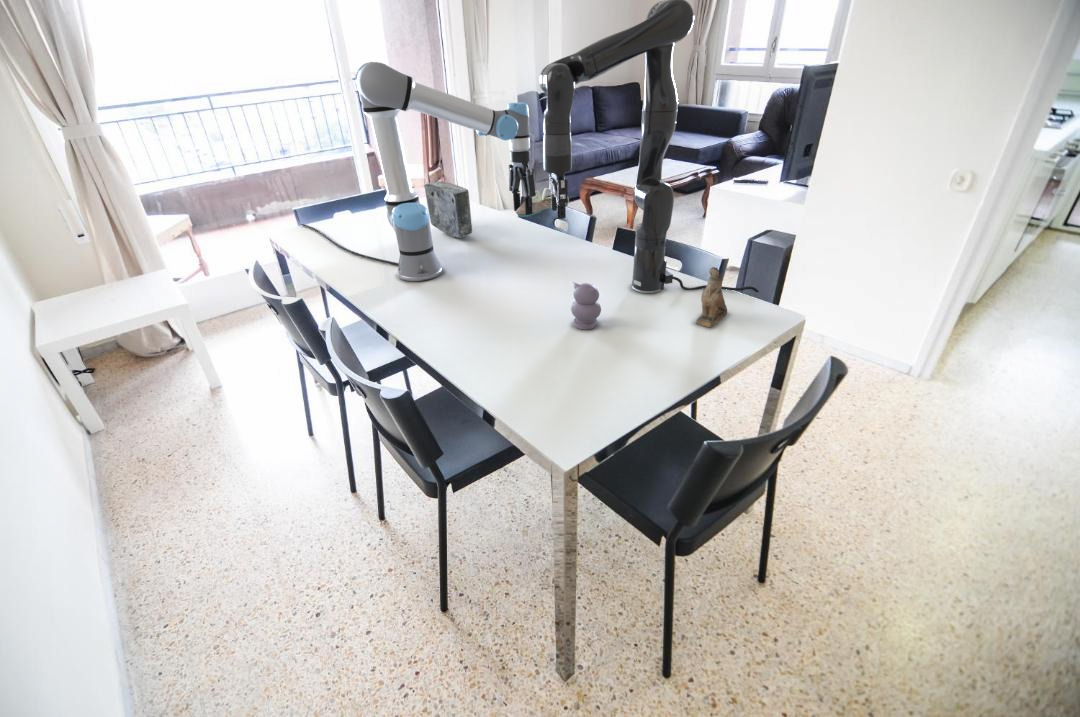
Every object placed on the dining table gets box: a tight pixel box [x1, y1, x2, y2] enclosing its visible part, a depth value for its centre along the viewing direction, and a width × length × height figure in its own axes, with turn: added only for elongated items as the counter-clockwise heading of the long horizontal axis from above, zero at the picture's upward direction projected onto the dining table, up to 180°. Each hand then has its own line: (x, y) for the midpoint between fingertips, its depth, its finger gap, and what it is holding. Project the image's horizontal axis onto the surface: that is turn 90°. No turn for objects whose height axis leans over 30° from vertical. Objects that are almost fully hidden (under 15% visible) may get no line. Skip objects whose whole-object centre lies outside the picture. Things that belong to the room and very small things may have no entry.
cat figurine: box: [570, 281, 602, 331], centre depth 136 cm, size 8×8×12 cm
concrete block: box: [424, 180, 473, 238], centre depth 209 cm, size 27×9×20 cm, turn 36°
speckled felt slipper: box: [515, 187, 570, 218], centre depth 197 cm, size 8×25×8 cm, turn 126°
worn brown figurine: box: [695, 266, 728, 328], centre depth 135 cm, size 12×6×18 cm, turn 136°
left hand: (523, 212), depth 194 cm, fingers closed on speckled felt slipper, 7 cm apart
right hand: (558, 214), depth 138 cm, fingers open, 8 cm apart
